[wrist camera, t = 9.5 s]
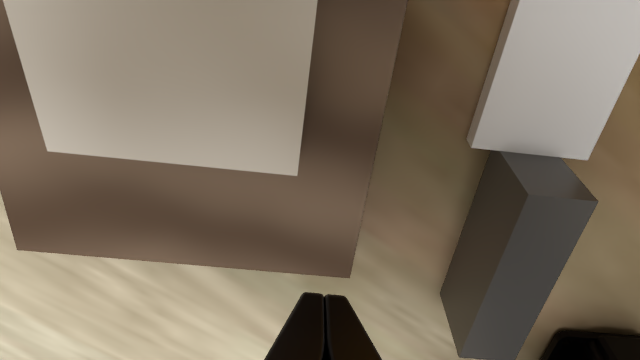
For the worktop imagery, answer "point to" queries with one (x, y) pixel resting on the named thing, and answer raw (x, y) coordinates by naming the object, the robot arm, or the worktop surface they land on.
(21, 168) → the walnut board
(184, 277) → the worktop surface
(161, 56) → the tile
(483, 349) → the dark grey pillar block
